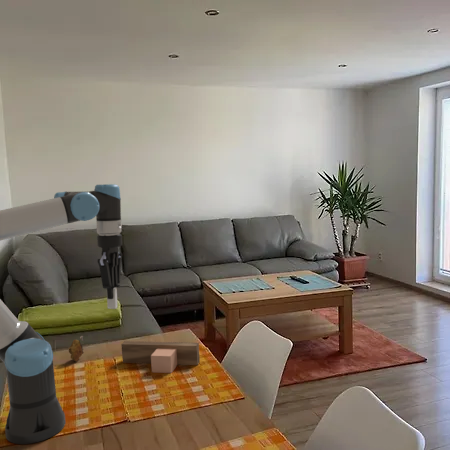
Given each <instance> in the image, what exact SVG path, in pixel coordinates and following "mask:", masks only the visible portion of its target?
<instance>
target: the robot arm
mask: <svg viewBox="0 0 450 450" xmlns="http://www.w3.org/2000/svg"><path fill="white" fill-rule="evenodd" d="M53 197H54V198H51V199H50V198H49V199H46V200H42V201H36V202H31V203H28V204H24V205H23V204H22V205H19V206H14V207H10V208H5V209H2V210H1V209H0V241H4V240H7V239H12V238H15V237H20V236H24V235H29V234H31V233H36V232H40V231H44V230H47V229H51V228H54V227H59V226H63V225H67V224H72V223H73V224H74V223H77V222H80V221H83V222H87V221H91V220H93V219H94V218H95V220H96V223H95V224H96V234H98V235H96V239H97V242H96V243H97V248H101V258H98V259H97V264H98V266H99V274H100V278H101V285H102V288H103V289H104V290H105V289H106V302H107V305H106V306H107V309H111V310H116V309H118V306H119V305H118V290H117V289H118V288H120V286H121V284H120V283H121V271H122V259H123V253H122V252H119V248H120V247H122V246H123V235H122V234H121V233H122V230H123V229H122V226H123V223H122V212H121V211H122V210H121V209H122V208H121V207H122V205H121V204H122V203H121V200H122V199H121V190H120V186H119V185H118V184H115V183H114V184H112V183H108V184H96V185H95V186H94V190H90V191H62V192H61V191H58V192H56V193H55V194H54V196H53ZM52 349H53V348H52V346H51V344H50V342H49V341H47V340H45V339H44V337H43V336H42V335H41V334H40V333H39V332H38V331H35V329H34V328H33V327H32V326H31V324H30V323H29V322H27V321H23V320H21V321H20V320H19V318H17V317H16V315H14V313H12V311H11V310H10V309H9V307H8V306H7V305H6V304H5V303H4V302H3V300H2V299H1V298H0V360H1V361H2V363H3V364H4V367H5V370H6V371H5V372H6V380H7V381H6V382H7V389H8V391H7V392H8V400H9V409H8V415H7V418H6V423H5V427H4V429H5V430H4V432H5V437H6V438H5V439H6V440H7V441H8V442H10V443H12V444H16V445H29V444H35V443H39V442H42V441H45V440H48V439H50V438H52V437H53V436H56V435H58V434H59V433H60V432H61V431H63V429H64V427H65V425H66V414H65V412H64V410H63V408H62V406H61V403H60V401H59V400H58V397H57V391H56V389H57V388H56V381H55V380H56V379H55V368H54V351H53V350H52Z"/></svg>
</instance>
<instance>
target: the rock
mask: <svg viewBox="0 0 450 450" xmlns="http://www.w3.org/2000/svg"><path fill="white" fill-rule="evenodd" d="M79 338H80V340H79V339H73V340H72V342H71V345H70V346H69V348H68V353H69V354H70V359H72V361H74V362H78V361H79V359H80V358H81V356H82V355H84V353H85V352H84V349H83V344H82V343H81V341H82V342H83V341H85V339H84V335H81V336H80V337H79Z"/></svg>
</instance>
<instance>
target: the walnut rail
mask: <svg viewBox="0 0 450 450" xmlns="http://www.w3.org/2000/svg"><path fill="white" fill-rule="evenodd" d="M199 343H200V342H188V341H187V342H185V341H183V342H180V341H179V342H178V341H145V340H144V341H139V340H137V341H136V340H134V341H132V340H131V341H130V340H129V341H128V340H124V341H123V342H122V343H121V359H122V363H124V364H129V363H130V364H148V365H149V364H151V355H152V354H153V353H154V352H155V350H156V349H157V348H174V349H176V350H177V365H182V366H183V365H186V366H190V365H191V366H198V365H199V364H200V345H199Z"/></svg>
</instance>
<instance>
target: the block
mask: <svg viewBox="0 0 450 450" xmlns="http://www.w3.org/2000/svg"><path fill="white" fill-rule="evenodd" d="M177 366H178V364H177V350H176V349H174V348H157V349H156V350H155V352H154V353H153V354H152V355H151V373H160V374H161V373H164V374H165V373H166V374H172V373H173V371H174V370H175V369H176V367H177Z"/></svg>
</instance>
